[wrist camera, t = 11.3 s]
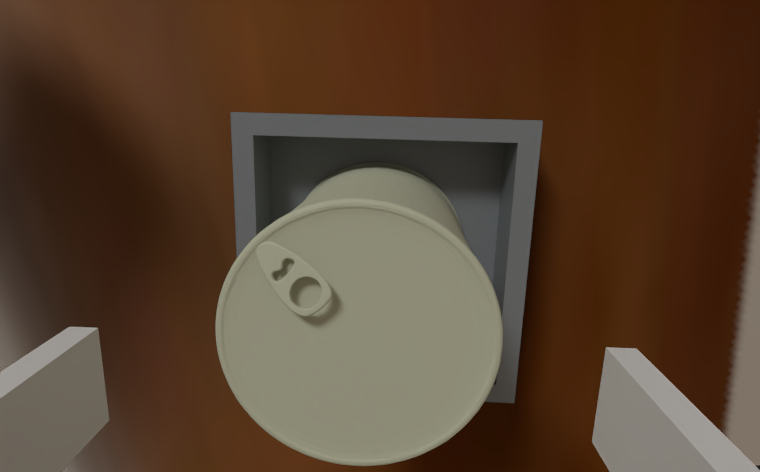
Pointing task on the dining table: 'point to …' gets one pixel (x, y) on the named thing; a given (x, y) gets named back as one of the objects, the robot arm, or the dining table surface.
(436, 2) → the dining table surface
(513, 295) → the tray
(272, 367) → the can
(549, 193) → the dining table surface
